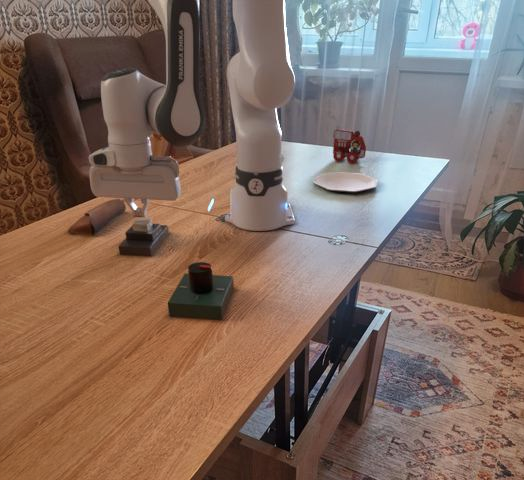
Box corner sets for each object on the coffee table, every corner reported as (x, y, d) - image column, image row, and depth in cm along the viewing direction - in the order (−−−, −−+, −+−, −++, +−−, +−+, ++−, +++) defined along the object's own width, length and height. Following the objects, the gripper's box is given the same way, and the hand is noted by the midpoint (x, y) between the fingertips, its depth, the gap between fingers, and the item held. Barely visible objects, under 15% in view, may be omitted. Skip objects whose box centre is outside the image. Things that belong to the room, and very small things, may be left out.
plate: (374, 197, 144) (374, 192, 144) (309, 192, 149) (309, 187, 148) (378, 179, 160) (379, 174, 159) (320, 174, 164) (320, 170, 163)
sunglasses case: (98, 208, 136) (106, 188, 132) (120, 222, 137) (128, 203, 133) (65, 232, 122) (72, 211, 118) (90, 247, 123) (97, 227, 119)
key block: (140, 232, 123) (137, 217, 121) (169, 233, 122) (167, 218, 120) (119, 255, 112) (116, 238, 109) (151, 256, 111) (149, 240, 109)
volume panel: (186, 286, 99) (184, 272, 97) (233, 289, 98) (233, 275, 96) (169, 316, 89) (167, 301, 88) (222, 320, 88) (221, 305, 87)
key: (138, 226, 116) (137, 218, 115) (153, 227, 116) (151, 218, 115) (133, 232, 114) (132, 223, 112) (148, 232, 113) (146, 224, 112)
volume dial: (187, 293, 91) (184, 269, 88) (194, 282, 94) (192, 259, 91) (209, 295, 90) (207, 271, 87) (215, 284, 93) (214, 261, 91)
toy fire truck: (361, 164, 174) (365, 133, 168) (328, 161, 179) (331, 130, 173) (366, 160, 180) (369, 130, 174) (334, 156, 184) (336, 127, 178)
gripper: (181, 153, 106) (187, 214, 114) (93, 149, 108) (104, 209, 116) (173, 160, 101) (179, 223, 109) (81, 156, 103) (93, 219, 111)
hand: (140, 216), depth 113 cm, fingers closed
